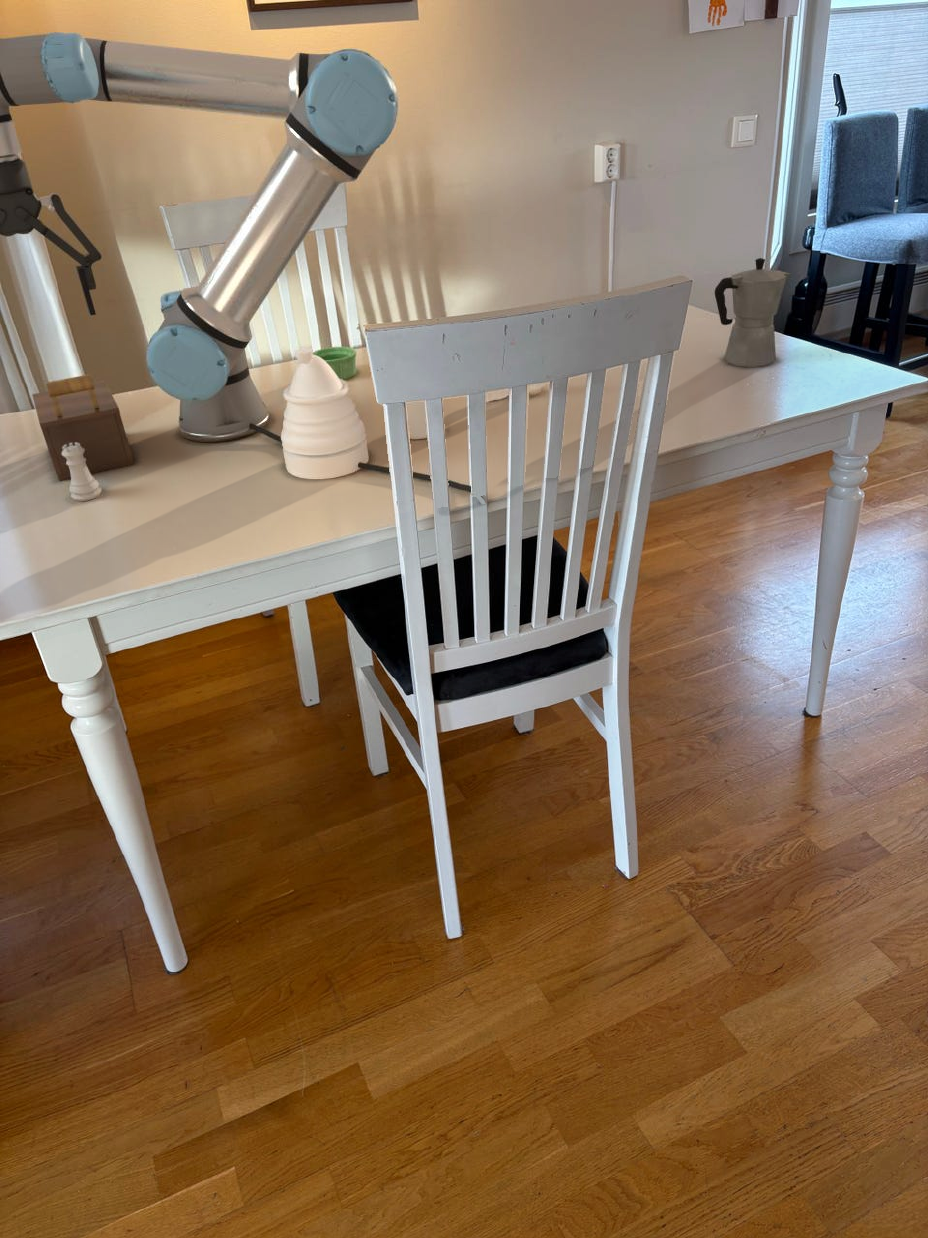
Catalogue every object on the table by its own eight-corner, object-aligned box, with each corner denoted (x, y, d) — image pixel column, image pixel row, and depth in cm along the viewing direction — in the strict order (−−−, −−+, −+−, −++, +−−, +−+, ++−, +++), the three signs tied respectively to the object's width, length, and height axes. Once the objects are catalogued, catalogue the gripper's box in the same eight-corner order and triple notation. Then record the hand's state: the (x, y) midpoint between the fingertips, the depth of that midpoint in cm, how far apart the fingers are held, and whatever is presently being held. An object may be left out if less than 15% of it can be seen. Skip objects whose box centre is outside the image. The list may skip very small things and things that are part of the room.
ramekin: (356, 381, 173) (353, 358, 170) (309, 384, 173) (306, 361, 171) (361, 367, 180) (358, 345, 178) (316, 369, 181) (313, 348, 178)
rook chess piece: (108, 492, 136) (93, 442, 132) (84, 504, 133) (67, 453, 128) (89, 487, 138) (74, 437, 134) (65, 498, 135) (48, 448, 131)
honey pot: (349, 481, 133) (331, 361, 123) (271, 476, 137) (248, 358, 127) (380, 448, 143) (366, 334, 134) (307, 444, 147) (289, 332, 137)
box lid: (120, 412, 139) (109, 374, 136) (41, 428, 136) (28, 389, 132) (106, 384, 152) (95, 349, 149) (33, 398, 148) (21, 362, 145)
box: (134, 463, 145) (119, 411, 140) (58, 480, 141) (40, 427, 136) (120, 434, 157) (106, 384, 152) (50, 449, 153) (33, 399, 148)
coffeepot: (763, 347, 173) (775, 248, 164) (795, 360, 166) (809, 257, 156) (694, 361, 169) (702, 260, 160) (724, 374, 162) (733, 269, 152)
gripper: (87, 147, 127) (127, 301, 139) (-108, 168, 119) (-48, 330, 131) (93, 151, 122) (134, 311, 133) (-112, 173, 113) (-49, 342, 125)
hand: (44, 321), depth 132 cm, fingers open, 13 cm apart
